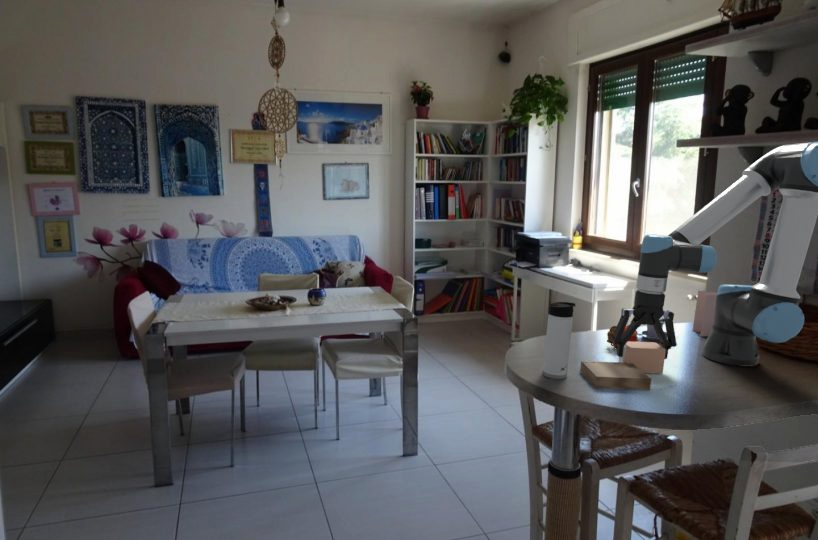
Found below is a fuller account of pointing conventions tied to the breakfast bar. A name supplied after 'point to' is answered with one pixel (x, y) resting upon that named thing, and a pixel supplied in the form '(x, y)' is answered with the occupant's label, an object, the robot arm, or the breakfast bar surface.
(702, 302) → the greeting card
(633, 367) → the brown wooden board
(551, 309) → the travel mug
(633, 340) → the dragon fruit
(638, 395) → the breakfast bar surface
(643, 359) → the block
